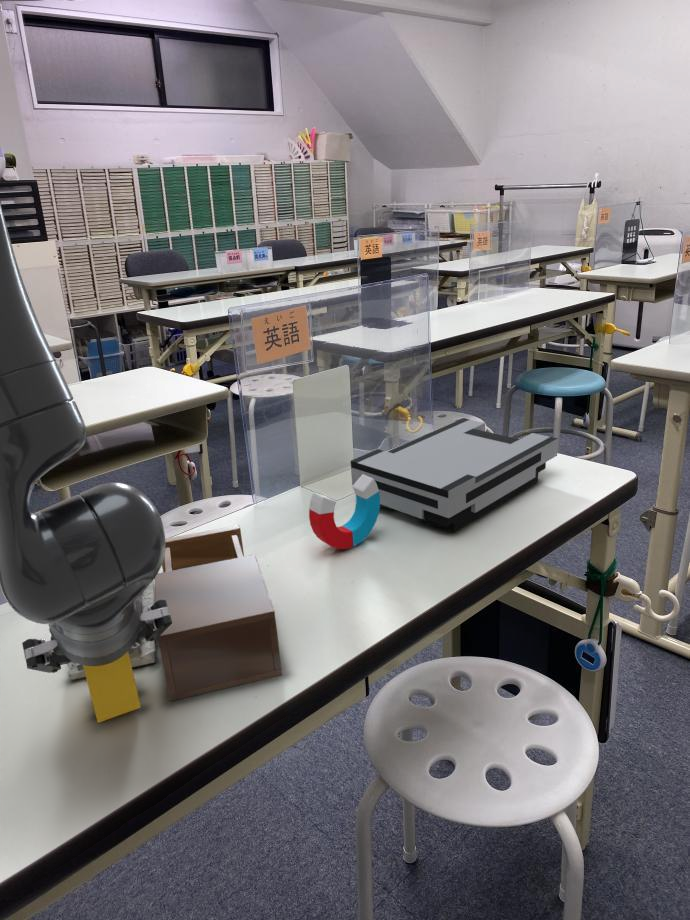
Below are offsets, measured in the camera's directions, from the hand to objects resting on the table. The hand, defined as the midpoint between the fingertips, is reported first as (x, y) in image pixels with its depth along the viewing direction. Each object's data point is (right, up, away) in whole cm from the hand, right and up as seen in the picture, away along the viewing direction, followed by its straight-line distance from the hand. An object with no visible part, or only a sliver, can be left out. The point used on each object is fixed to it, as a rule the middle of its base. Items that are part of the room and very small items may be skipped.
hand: (103, 653), depth 74 cm
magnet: (+27, +8, +32) cm, 42 cm away
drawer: (+7, +3, +21) cm, 22 cm away
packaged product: (-3, -1, +15) cm, 15 cm away
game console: (+46, +16, +49) cm, 69 cm away
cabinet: (+11, -2, +9) cm, 14 cm away
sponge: (+1, -6, +1) cm, 6 cm away
